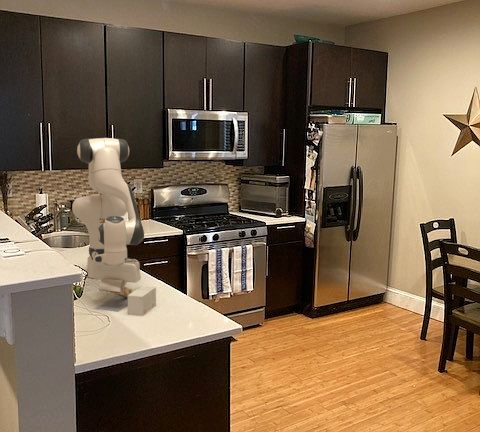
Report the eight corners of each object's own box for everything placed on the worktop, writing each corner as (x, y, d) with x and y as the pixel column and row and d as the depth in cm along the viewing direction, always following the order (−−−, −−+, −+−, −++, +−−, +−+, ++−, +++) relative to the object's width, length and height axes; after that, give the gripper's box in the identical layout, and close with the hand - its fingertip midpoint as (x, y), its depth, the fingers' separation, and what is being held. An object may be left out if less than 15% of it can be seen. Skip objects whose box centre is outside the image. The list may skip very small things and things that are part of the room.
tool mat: (119, 295, 223) (119, 294, 223) (142, 298, 220) (142, 296, 220) (93, 310, 204) (93, 308, 204) (118, 313, 201) (118, 311, 201)
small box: (141, 285, 210) (127, 295, 197) (156, 287, 208) (142, 296, 196) (141, 305, 211) (127, 315, 198) (156, 306, 210) (143, 317, 197)
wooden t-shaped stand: (117, 296, 219) (119, 286, 221) (136, 298, 217) (138, 287, 218) (99, 289, 205) (101, 278, 207) (119, 291, 203) (122, 280, 204)
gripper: (143, 257, 207) (143, 291, 209) (98, 253, 213) (99, 286, 215) (135, 261, 201) (136, 295, 203) (89, 257, 207) (90, 290, 209)
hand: (116, 291), depth 209 cm, fingers closed on wooden t-shaped stand, 3 cm apart
